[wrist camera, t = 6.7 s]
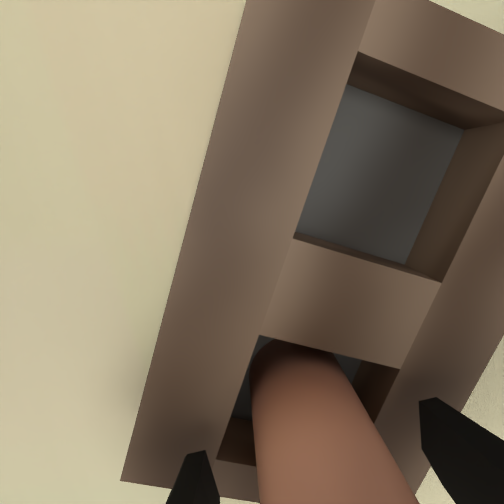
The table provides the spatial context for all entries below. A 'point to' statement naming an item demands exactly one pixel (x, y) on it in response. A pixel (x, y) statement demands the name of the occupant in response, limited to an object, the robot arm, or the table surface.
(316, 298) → the peg block
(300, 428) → the pin
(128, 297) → the table surface
